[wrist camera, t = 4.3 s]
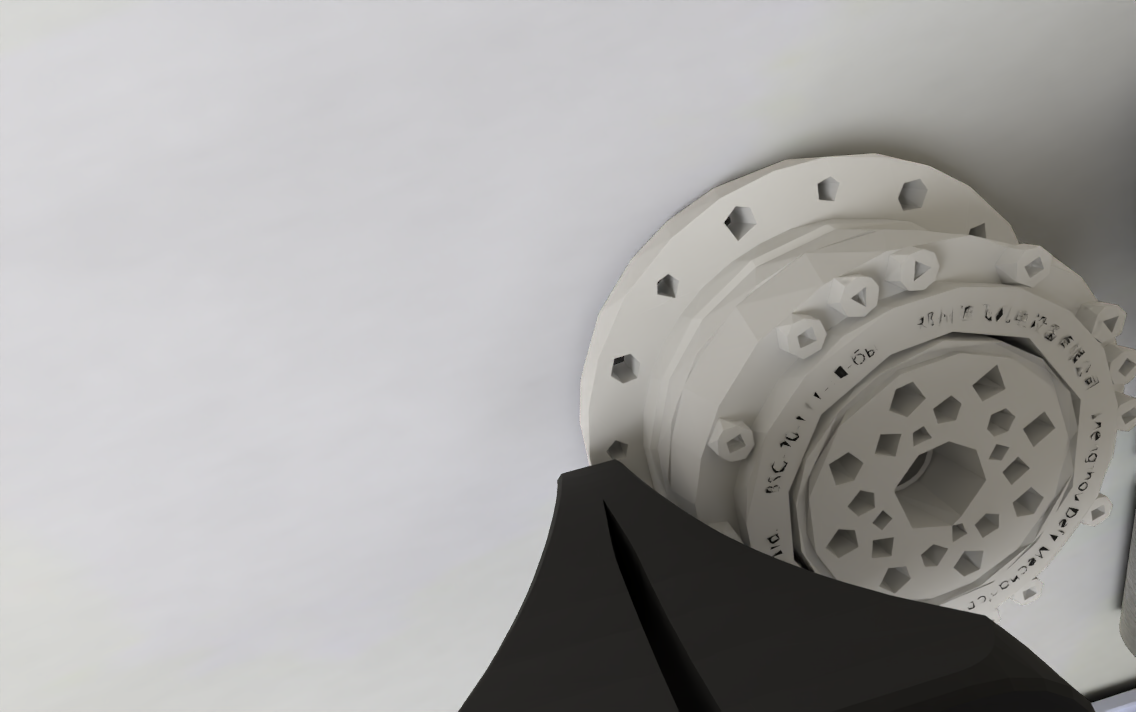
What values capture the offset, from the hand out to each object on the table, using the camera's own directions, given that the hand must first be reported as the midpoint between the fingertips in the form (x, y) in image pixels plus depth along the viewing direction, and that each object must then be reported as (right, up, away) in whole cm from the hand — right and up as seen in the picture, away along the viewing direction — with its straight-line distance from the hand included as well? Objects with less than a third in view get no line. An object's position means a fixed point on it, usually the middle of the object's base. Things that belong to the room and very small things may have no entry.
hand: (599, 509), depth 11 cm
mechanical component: (+5, +2, +2) cm, 6 cm away
